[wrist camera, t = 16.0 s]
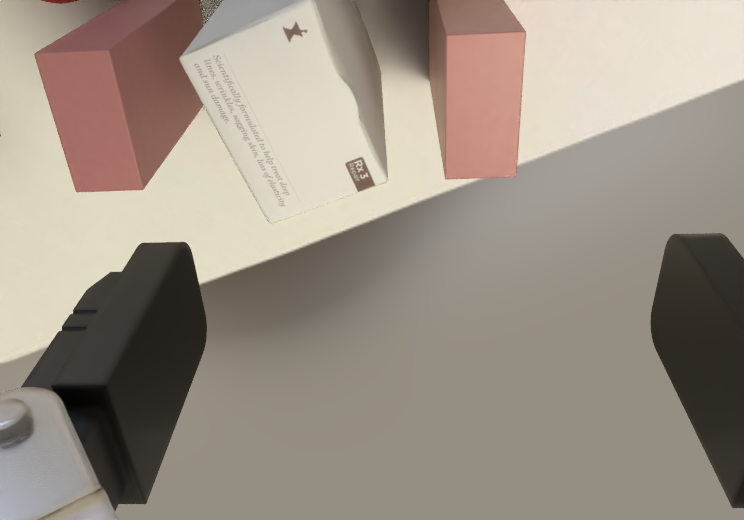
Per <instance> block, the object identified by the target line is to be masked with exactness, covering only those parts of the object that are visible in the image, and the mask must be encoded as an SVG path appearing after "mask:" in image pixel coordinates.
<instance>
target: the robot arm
mask: <svg viewBox="0 0 744 520" xmlns="http://www.w3.org/2000/svg"><path fill="white" fill-rule="evenodd" d="M206 332H207V326H206V316H205V310H204V306H203V301H202V297H201V292H200V287H199V283H198V278H197V274H196V269H195V265H194V260H193V256H192V252H191V249H190V247H189V245H188V244H187V243H185V242H166V243H141V244H140V245H139V246H138V247H137V249H136V250H135V252H134V253H133V255H132V257H131V258H130V260H129V261H128V263H127V265H126V266H125V268H124V269H123V271H122V272H110V273H109V274H108V275H106V276H105V277H104V278H102V279H101V280H100V281H98V282H97V283H95V284H94V285H93V286H91V287H90V288H89V289H87V290H86V292H85V293H84V295H83V296H82V298H81V299H80V301H79V302H78V304H77V305H76V307H75V308H74V310H73V314H70V316H69V317H68V318H67V320H66V321H65V323H64V324H63V326H62V331H59V332H58V333H57V335H56V336H55V338H54V339H53V341H52V342H51V344H50V345H49V347H48V348H47V349H46V351H45V352H44V354H43V356H42V357H41V358H40V360H39V361H38V363H37V364H36V366H35V367H34V369H33V370H32V372H31V373H30V375H29V376H28V378H27V379H26V381H25V382H24V384H23V385H22V386H21V388H17V389H13V390H9V391H5V392H2V393H0V520H118V518H117V515H116V513H115V511H116V508H117V506H118V504H146V503H147V500H148V497H149V495H150V492H151V490H152V487H153V484H154V482H155V479H156V476H157V474H158V471H159V468H160V466H161V463H162V460H163V458H164V455H165V452H166V450H167V447H168V444H169V442H170V439H171V437H172V434H173V431H174V429H175V425H176V423H177V420H178V418H179V415H180V413H181V410H182V407H183V405H184V402H185V399H186V397H187V394H188V391H189V388H190V386H191V383H192V381H193V378H194V375H195V373H196V370H197V367H198V365H199V362H200V359H201V357H202V354H203V351H204V348H205V343H206ZM651 333H652V339H653V343H654V346H655V348H656V351H657V353H658V355H659V357H660V359H661V361H662V363H663V365H664V367H665V369H666V371H667V374H668V376H669V378H670V379H671V381H672V384H673V386H674V388H675V390H676V392H677V394H678V396H679V398H680V400H681V402H682V405H683V406H684V409H685V411H686V413H687V415H688V417H689V419H690V421H691V423H692V425H693V427H694V429H695V431H696V433H697V436H698V438H699V440H700V442H701V444H702V446H703V448H704V450H705V452H706V454H707V456H708V458H709V460H710V462H711V465H712V466H713V468H714V471H715V473H716V475H717V477H718V479H719V481H720V483H721V485H722V487H723V489H724V491H725V494H726V496H727V498H728V500H729V502H730V504H731V506H732V507H733V508H744V259H743V257H742V256H741V255H740V253H739V252H738V251H737V250H736V248H735V247H734V246H733V245H732V243H731V242H730V241H729V239H728V238H727V237H726V236H725V235H723V234H721V233H717V234H716V233H713V234H674V235H672V236H671V237H670V238H669V240H668V241H667V244H666V248H665V252H664V256H663V261H662V265H661V270H660V274H659V279H658V284H657V288H656V293H655V297H654V302H653V306H652V312H651Z"/></svg>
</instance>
